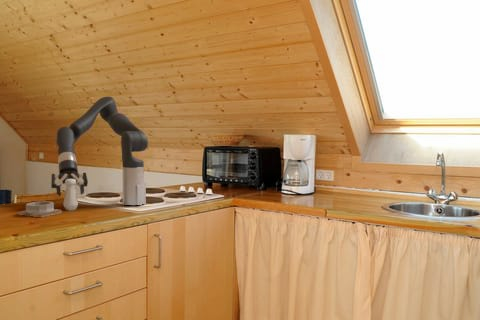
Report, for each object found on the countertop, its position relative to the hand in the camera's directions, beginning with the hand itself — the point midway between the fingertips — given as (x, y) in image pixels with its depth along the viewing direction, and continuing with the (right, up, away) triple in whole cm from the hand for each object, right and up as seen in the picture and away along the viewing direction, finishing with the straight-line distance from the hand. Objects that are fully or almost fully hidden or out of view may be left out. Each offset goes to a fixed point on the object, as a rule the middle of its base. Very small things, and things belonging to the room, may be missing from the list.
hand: (70, 194), depth 168 cm
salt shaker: (-1, -7, +1) cm, 7 cm away
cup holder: (-9, -7, -8) cm, 14 cm away
